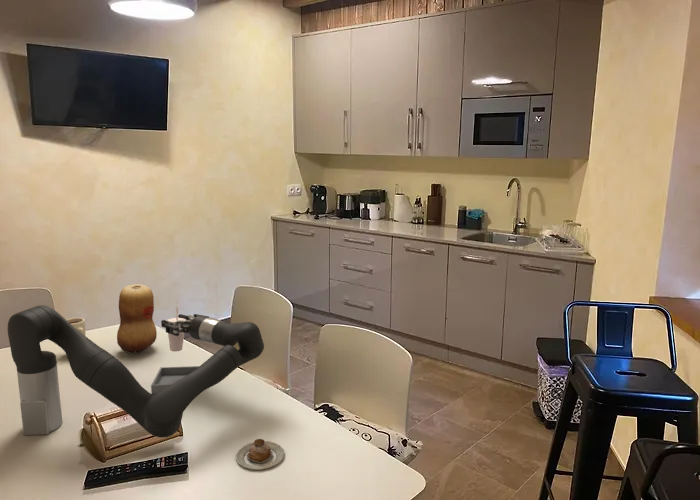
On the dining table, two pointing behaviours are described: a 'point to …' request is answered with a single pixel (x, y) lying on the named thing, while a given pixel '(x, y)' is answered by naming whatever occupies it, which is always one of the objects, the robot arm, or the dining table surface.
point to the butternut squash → (136, 319)
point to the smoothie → (176, 341)
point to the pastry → (260, 454)
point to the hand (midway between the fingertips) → (171, 320)
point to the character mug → (78, 324)
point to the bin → (169, 377)
